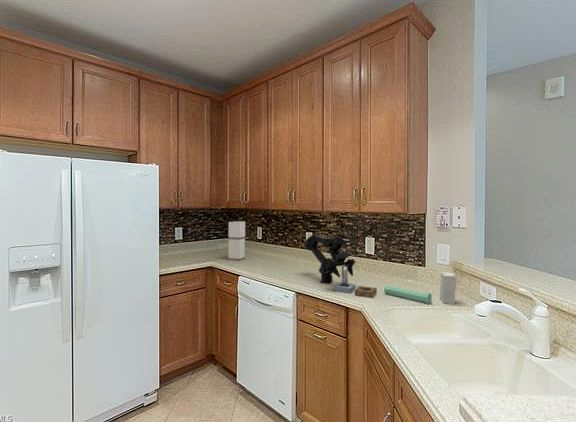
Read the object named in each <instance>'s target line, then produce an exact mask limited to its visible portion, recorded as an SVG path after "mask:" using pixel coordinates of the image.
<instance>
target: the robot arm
mask: <svg viewBox="0 0 576 422" xmlns="http://www.w3.org/2000/svg"><path fill="white" fill-rule="evenodd" d="M303 243H304V244H303V245H304V248H305V249H306V250H308V251H310V252H311V253H312V254H313V255H314V256H315V258H316V259H317V261H318V262H319V263H320V267H319V268H318V272H319V274H321V276H320V278H321V279H320V280H321V281H320V283H321V284H327V285H329V284H331V283H333V280H334V279H333V278H334V277H333V274H334V275H335V276H336V277H338V278H341V275H340V272H339V270H338V268H337V267H342V266H347V267H348V274H349V275H350V276H352V277H353V276H354V272H353V271H354V270H353V266H354V265H355V263H356V261H355V259H353V258H350V259H349V257H350V256H351V253H350V251H344V252H340V251H341V249H342V248H343V247H344V245H345V244H346V241H345V240H344V238H342V237H340V236H336V237H335V238H334V237H325V236H322V235H320V234H315V233H314V234H311V235H310V236H309V237H308V238H306V240H305V241H304V242H303ZM319 243H320V244H322V246H323V247H325V248H328V249H327V254H329V255H330V257H331V258H329V257H328V258H327V257H326V256H325V255H324V253H323V252H322V251H321V249H319V247H318V245H319Z"/></svg>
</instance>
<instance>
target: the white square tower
mask: <svg viewBox="0 0 576 422" xmlns="http://www.w3.org/2000/svg"><path fill="white" fill-rule="evenodd" d="M245 241H246V221H236V220H235V221H228V261H230V260H235V261H234V262H241V260H242V261H244V260H246V257H245V256H246V255H245V252H246V251H245V248H246V247H245Z"/></svg>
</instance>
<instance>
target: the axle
mask: <svg viewBox="0 0 576 422" xmlns="http://www.w3.org/2000/svg"><path fill="white" fill-rule="evenodd" d="M348 277H349V272H348V267H347V266H345V265H344V266H341V283H342V286H345V287H348V283H349V282H348V281H349V279H348Z"/></svg>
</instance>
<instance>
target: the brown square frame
mask: <svg viewBox="0 0 576 422" xmlns="http://www.w3.org/2000/svg"><path fill="white" fill-rule="evenodd" d="M377 292H378V289H377V287H372V286H371V287H370V286H365V285H364V286H363V285H359V286H358V287H356V288H355V290H354V295H355V297H356V296H358V297H364V298H369V297H370V298H372V299H373V298H375V296H376V295H377Z"/></svg>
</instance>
